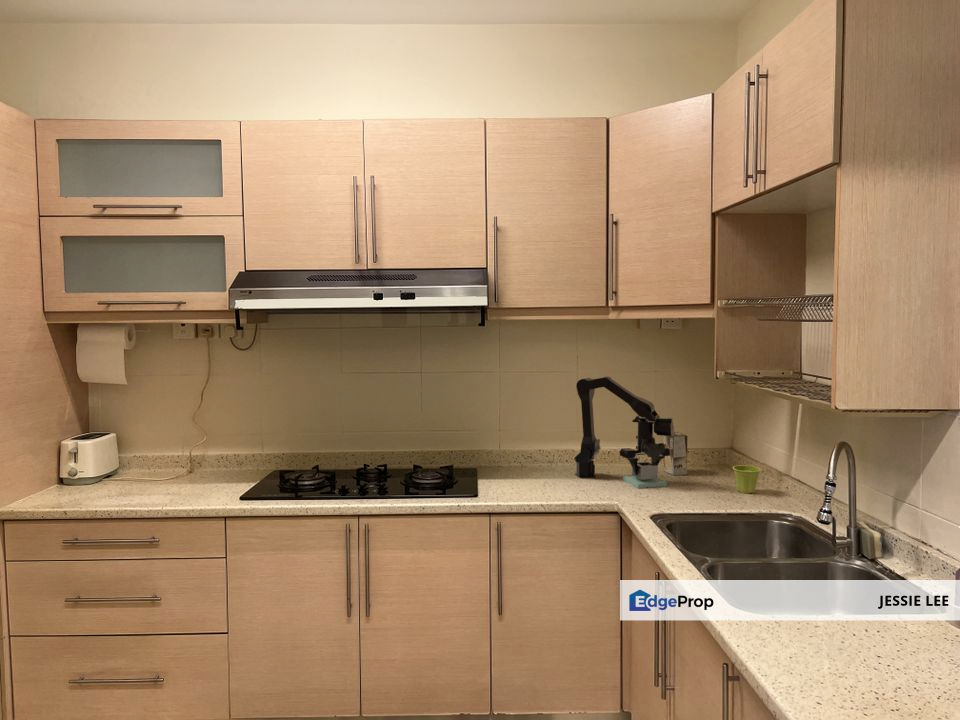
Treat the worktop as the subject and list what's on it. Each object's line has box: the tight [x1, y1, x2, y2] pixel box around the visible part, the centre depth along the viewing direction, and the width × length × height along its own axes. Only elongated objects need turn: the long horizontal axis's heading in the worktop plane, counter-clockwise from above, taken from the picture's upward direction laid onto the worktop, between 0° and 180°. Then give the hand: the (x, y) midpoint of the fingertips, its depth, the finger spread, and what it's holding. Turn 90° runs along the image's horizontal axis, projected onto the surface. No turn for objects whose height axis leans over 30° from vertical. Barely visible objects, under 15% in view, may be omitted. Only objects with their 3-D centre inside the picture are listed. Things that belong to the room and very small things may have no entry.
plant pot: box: [732, 464, 762, 495], centre depth 228 cm, size 9×9×9 cm
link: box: [631, 461, 659, 480], centre depth 240 cm, size 7×7×5 cm
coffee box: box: [663, 431, 688, 476], centre depth 256 cm, size 9×6×16 cm
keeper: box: [623, 475, 668, 489], centre depth 241 cm, size 12×12×6 cm
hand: (644, 474), depth 241 cm, fingers closed on link, 7 cm apart
